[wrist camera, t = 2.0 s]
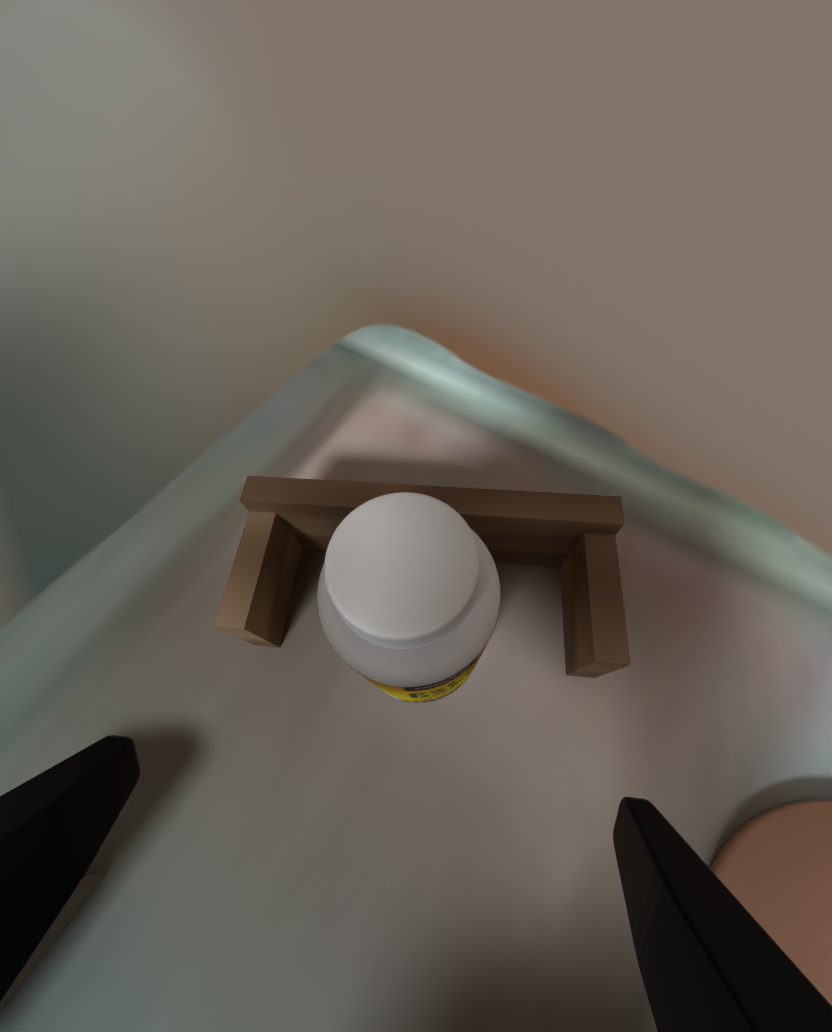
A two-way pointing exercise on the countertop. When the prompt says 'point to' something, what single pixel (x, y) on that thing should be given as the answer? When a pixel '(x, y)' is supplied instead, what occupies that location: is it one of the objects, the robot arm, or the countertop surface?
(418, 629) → the supplement bottle
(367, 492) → the open wooden frame
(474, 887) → the countertop surface
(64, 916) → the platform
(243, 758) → the countertop surface
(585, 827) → the countertop surface
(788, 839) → the terracotta saucer
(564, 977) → the countertop surface
